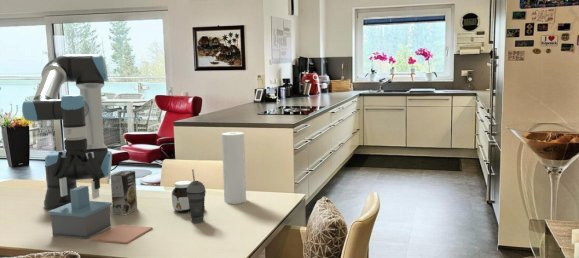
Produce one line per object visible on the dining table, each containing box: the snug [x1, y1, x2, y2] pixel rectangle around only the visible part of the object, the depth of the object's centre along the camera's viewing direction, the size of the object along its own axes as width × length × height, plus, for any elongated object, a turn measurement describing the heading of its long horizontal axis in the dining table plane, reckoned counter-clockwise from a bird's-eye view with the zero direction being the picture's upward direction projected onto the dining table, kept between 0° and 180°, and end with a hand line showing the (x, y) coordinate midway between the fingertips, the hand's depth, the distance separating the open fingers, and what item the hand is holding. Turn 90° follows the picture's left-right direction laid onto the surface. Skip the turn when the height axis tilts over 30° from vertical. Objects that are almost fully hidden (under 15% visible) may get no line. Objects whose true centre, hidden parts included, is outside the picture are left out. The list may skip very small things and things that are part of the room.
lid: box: [47, 185, 112, 217], centre depth 186 cm, size 15×15×9 cm
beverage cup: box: [186, 169, 207, 224], centre depth 194 cm, size 7×7×20 cm
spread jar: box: [171, 180, 206, 214], centre depth 210 cm, size 12×11×12 cm
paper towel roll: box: [221, 131, 247, 205], centre depth 221 cm, size 9×9×30 cm
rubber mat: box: [91, 224, 153, 245], centre depth 182 cm, size 14×16×1 cm
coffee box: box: [110, 170, 138, 215], centre depth 210 cm, size 9×6×16 cm
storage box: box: [50, 206, 112, 240], centre depth 187 cm, size 14×14×8 cm
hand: (79, 196), depth 185 cm, fingers open, 13 cm apart
